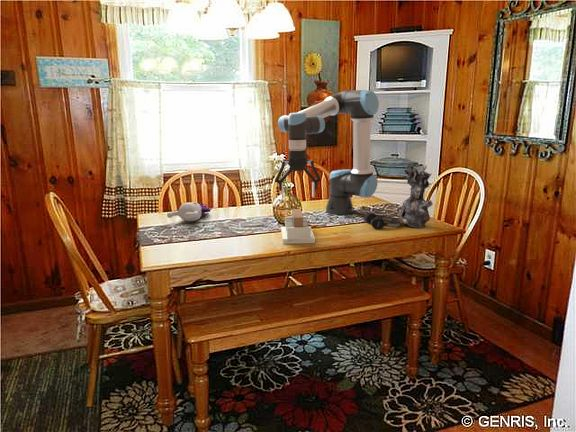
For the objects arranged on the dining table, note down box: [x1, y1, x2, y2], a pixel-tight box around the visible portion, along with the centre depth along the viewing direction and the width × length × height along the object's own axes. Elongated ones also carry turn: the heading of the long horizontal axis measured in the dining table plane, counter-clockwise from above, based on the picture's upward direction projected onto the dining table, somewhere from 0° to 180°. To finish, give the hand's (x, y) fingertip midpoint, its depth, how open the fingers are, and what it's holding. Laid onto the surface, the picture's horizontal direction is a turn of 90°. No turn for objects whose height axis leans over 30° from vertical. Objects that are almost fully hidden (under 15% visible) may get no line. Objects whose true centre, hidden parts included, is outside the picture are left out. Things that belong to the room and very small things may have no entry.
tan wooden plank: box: [291, 208, 303, 227], centre depth 198 cm, size 15×4×5 cm, turn 3°
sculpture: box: [398, 164, 433, 229], centre depth 214 cm, size 14×15×30 cm
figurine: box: [166, 202, 213, 222], centre depth 228 cm, size 16×10×30 cm
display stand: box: [280, 215, 316, 245], centre depth 200 cm, size 19×14×7 cm
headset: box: [362, 205, 402, 230], centre depth 217 cm, size 14×10×20 cm
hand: (298, 197), depth 196 cm, fingers open, 13 cm apart
